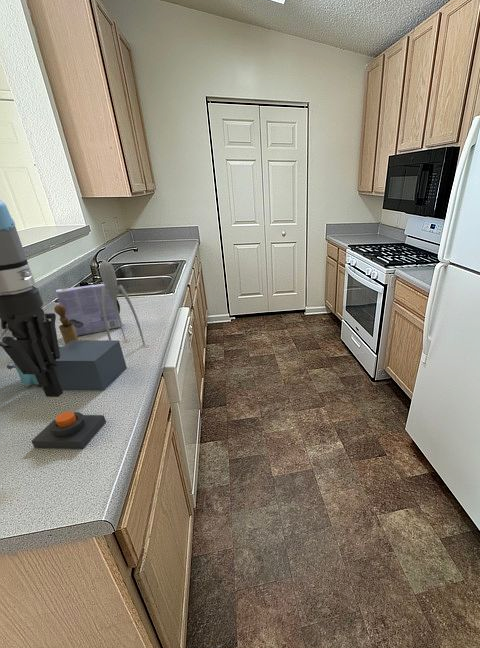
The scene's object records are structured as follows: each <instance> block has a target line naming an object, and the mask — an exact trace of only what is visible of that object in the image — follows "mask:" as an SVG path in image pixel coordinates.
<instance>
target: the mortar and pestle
mask: <svg viewBox="0 0 480 648" xmlns="http://www.w3.org/2000/svg"><path fill="white" fill-rule="evenodd" d="M53 310H54V311H53V312H54V313H55V314H57V315H58V316H59V322H60V323H61V324H60V325H59V326H58V328H59V331H60V334H61V336H62V340H63V342H64V345H66V344H67V343H69V342H70V341H72V340H79V336H77V334H76V331H75V328H74V325H73V323H68V317H66V316H65V312H66V308H65V306H63V305H60V304H56V305H55V306H54V308H53Z"/></svg>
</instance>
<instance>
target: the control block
mask: <svg viewBox="0 0 480 648" xmlns="http://www.w3.org/2000/svg"><path fill="white" fill-rule="evenodd" d="M72 412H73V413H74V414H75V417H76V422H75V423H73V424H71V425H69V426H66V427H58V425H57V423H56V421H55V419H56V417H55V418H54V419H53V420H52V421H51V422H50V423H49V424H48V425H47V426H46V427H44V428H43V429H42V431H40V432H39V433H38V434H37V435H36V436H35V437H34V438H32V439H31V441H30V442H31V444H32V446H33V448H34V449H51V450H84V449H85V448H86V447H87V446H88V445H89V443H90V442H91V441H92V440H93V439H94V438H95V436H97V434H98V433H99V432H100V430H101V429H102V428H103V427H104V426H105V425H106V423H107V419H106V417H105V415H104V414H83V413H81V412H79V411H78V412H77V411H72Z"/></svg>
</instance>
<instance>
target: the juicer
mask: <svg viewBox="0 0 480 648" xmlns="http://www.w3.org/2000/svg"><path fill="white" fill-rule="evenodd" d="M98 267H99V268H98V269H99V274H100V278H101V280H102V284H104V285H105V287H106V289H105V288H102V308H103V315H104V321H105V326H106V330H105V331H106V335H107V337H108V340H112V338H111V333H110V329H109V327H108V322H107V316H106V293H109V294H110V296H111V297H112V300H113V304H114V307H115V310H116V314H117V317H118V320H119V323H120V330H121V333H122V336H123V339H124V341H126V336H125V332H124V328H123V323H122V324H121V322H122V319H120V318H121V315H120V314H119V311H118V307H117V302H116V301H117V299H118V292H121V293H122V295H123V297H124V299H125V300H126V302H127V304H128V306H129V308H130V310H131V311H132V312H131V313H132V314H133V317H134V320H135V322H136V325H137V328H138V331H139V335H140V339H141V341H142V345H143V346H145V345H146V343H145V340H144V339H145V338H144V335H143V332H142V327H141V324H140V322H139V318H138V315H137V313H136V311H135V308H134V305H133V303H132V301H131V299H130V297H129V295H128V293H127V291H126V290H125V288H124V287H123V285H122V284H119V285H118V280H117V275H116V271H115V269H114V268H115V267H114V266H113V265H112V264H111V262H109V261H107V260H103V261H101V262H100V264H99V266H98Z"/></svg>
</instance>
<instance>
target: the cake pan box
mask: <svg viewBox="0 0 480 648" xmlns="http://www.w3.org/2000/svg"><path fill="white" fill-rule="evenodd" d="M102 288H105V289H106V287H105V285H104V283H100V284H92V285H83V286H76V287H70V288H67V287H66V288H60V289H59V288H58V289H56V290H55V294H56V297H57V300H58V303H59V304H58V305H63V306H65V308H66V312H65V316H66V317H68V323H73V325H74V328H75V331H76V334H77V337H79V336H84V335H89V334H90V335H91V334H95V333H100V332H101V333H102V332H104V331H107V330H106V326H105V321H104V315H103V308H102ZM116 302H117V307H118V311H119V315H120V313H121V305H120V302H119V299H118V298H117V301H116ZM106 316H107V322H108V327H109V330H115V329H118V328H120V329H121V327H120V323H119V320H118V317H117V314H116V310H115V307H114V304H113V300H112V297H111V296H110V294H109V293H106ZM120 319H121V317H120ZM121 320H122V319H121ZM121 324H122V325H123V322H122V321H121Z"/></svg>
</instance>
